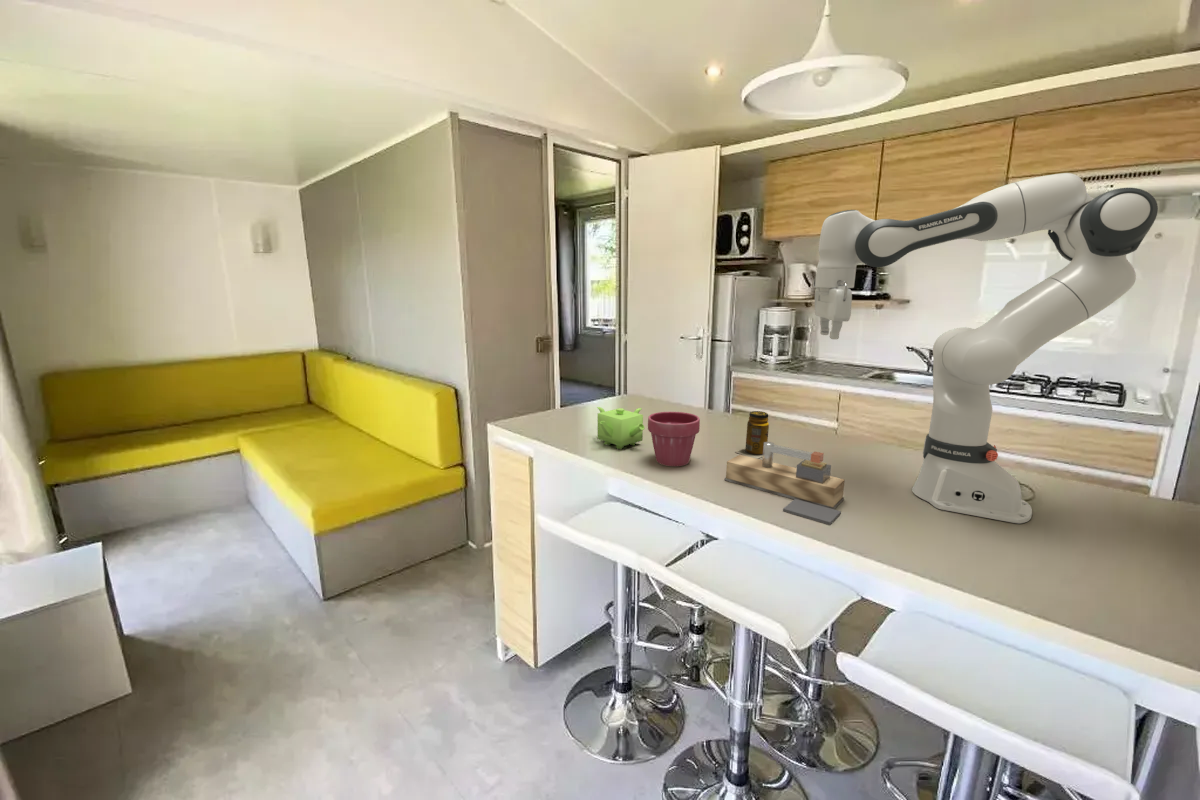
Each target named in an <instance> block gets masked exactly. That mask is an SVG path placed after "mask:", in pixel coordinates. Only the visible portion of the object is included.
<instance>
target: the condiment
mask: <svg viewBox="0 0 1200 800" xmlns="http://www.w3.org/2000/svg"><path fill="white" fill-rule="evenodd" d="M748 415H749V416H748V421H747V425H746V435H745V436H746V438H745V448H742V449H739V450H737V451H735V453H737V454H739V455H743V456H747V457H752V458H756V459H760V458H763V447H764V442H769V441H768V440H769V438H768V437H769V430H770V429H769V428H770V427H769V426H770V424H769V413H767V412H765V411H761V410H760V411H759V410H753V411H750V412H749V413H748Z"/></svg>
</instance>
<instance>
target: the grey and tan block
mask: <svg viewBox="0 0 1200 800" xmlns="http://www.w3.org/2000/svg"><path fill="white" fill-rule="evenodd" d="M796 468H797V470H796V477H797V478H801V479H805V480H809V481H813V482H817V483H821V484H823V483H824V482H825V481H826V480H827V479H829V478H830V476H831V469H832V465H831V464H828V463H827V462H823V461H822V462H821V463H815V462H811V461H809V460H804V459H802V461H801V462H799V463H798V464H796Z"/></svg>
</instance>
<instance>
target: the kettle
mask: <svg viewBox="0 0 1200 800" xmlns="http://www.w3.org/2000/svg"><path fill="white" fill-rule="evenodd" d="M596 408H597V410H599V412H598V413H597V440H600V441H602V442H603V441H604V442H603V445H605V446H610V445H611V444H612V445H615V449H616V448H617V450H623V449H624V447H625V446H636V445H637V443H638V442H639V443H640V442H642V441H643V435H644V434H643V432H644V430H645V425H644V424H643V422H644V415H643V414H640V411H642V407H639V408H636V409H635V410H634V411H630V410H626V409H625V408H622V407H621V408H620V407H619V408H615V409H611V410H605V409H604V408H603V407H600V406H597V407H596ZM629 444H630V445H629ZM635 444H636V445H635ZM622 448H623V449H622Z"/></svg>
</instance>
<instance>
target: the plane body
mask: <svg viewBox="0 0 1200 800" xmlns="http://www.w3.org/2000/svg"><path fill="white" fill-rule="evenodd" d="M762 460H763V459H760V458H758V459H757V458H753V457H748V456H745V455H742V454H739V455H736V456H734V457H733V458H731V459H729V460H727V461H726V470H725V471H726V472H725V477H724V481H726V482H730V483H732V484H738V485H740V486H744V487H747V488H751V489H755V490H759V491H762V492H767V493H770V494H774V495H777V496H781V497H783V498H788V499H792V500H794V499H798V500H802V501H805V502H809V503H813V504H816V505H820V506H824V507H827V508H831V509H835V510H836V508H837V507H838V506H839V505H840V504H841V503H842V502H843V501H844V500H845V497H844V490H845V489H844V488H845V479H844V478H840V477H836V476H831V475H830V478H829V479H827V480H826V481H825V482H824V483H823V484H821V483H817V482H813V481H809V480H805V479H801V478H797V477H796V470H797V467H793V466H789V465H785V464H781V463H778V462H773V464H772V467H770V468H767V467H763V466H762Z"/></svg>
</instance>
